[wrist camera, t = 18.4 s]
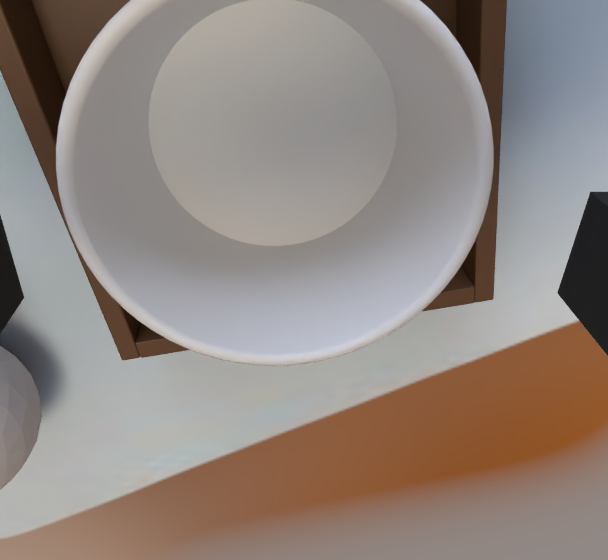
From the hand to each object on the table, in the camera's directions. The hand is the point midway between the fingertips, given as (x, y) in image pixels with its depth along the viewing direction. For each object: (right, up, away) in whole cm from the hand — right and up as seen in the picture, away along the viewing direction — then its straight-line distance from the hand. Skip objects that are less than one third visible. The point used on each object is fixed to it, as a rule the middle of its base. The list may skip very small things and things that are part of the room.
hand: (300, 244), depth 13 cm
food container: (-1, +5, +8) cm, 10 cm away
